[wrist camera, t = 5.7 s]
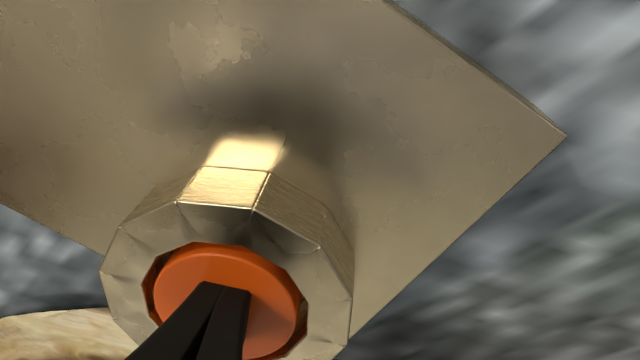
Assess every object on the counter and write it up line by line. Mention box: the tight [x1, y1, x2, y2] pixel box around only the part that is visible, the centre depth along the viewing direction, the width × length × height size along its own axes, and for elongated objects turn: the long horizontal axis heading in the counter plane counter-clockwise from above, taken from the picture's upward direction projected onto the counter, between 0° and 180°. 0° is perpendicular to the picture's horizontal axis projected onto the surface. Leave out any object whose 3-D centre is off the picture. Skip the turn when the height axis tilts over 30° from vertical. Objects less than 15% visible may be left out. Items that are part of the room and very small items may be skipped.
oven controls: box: [0, 0, 567, 360], centre depth 11 cm, size 13×12×4 cm
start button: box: [153, 242, 302, 359], centre depth 12 cm, size 4×4×2 cm
